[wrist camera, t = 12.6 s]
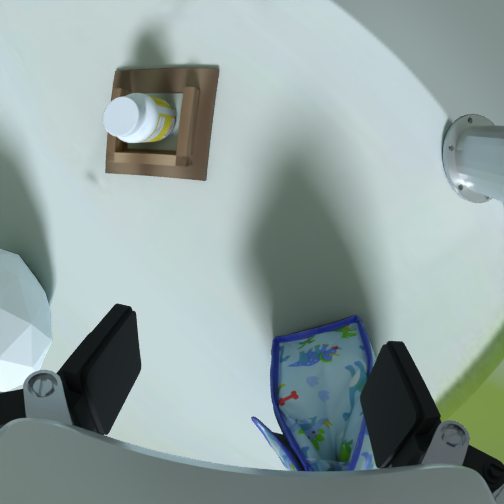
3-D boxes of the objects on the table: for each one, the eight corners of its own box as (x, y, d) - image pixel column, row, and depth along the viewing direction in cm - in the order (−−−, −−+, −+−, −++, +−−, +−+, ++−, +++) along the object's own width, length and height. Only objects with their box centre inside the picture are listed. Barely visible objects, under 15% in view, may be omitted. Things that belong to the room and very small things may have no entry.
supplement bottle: (134, 107, 33) (93, 99, 24) (173, 94, 32) (141, 80, 23) (141, 146, 35) (102, 150, 26) (181, 135, 34) (150, 134, 25)
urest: (219, 70, 32) (213, 62, 28) (206, 180, 37) (199, 184, 33) (117, 72, 32) (104, 67, 29) (107, 172, 37) (93, 175, 33)
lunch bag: (252, 339, 44) (232, 501, 20) (361, 305, 41) (424, 460, 17) (294, 423, 51) (296, 546, 26) (379, 399, 48) (412, 520, 23)
